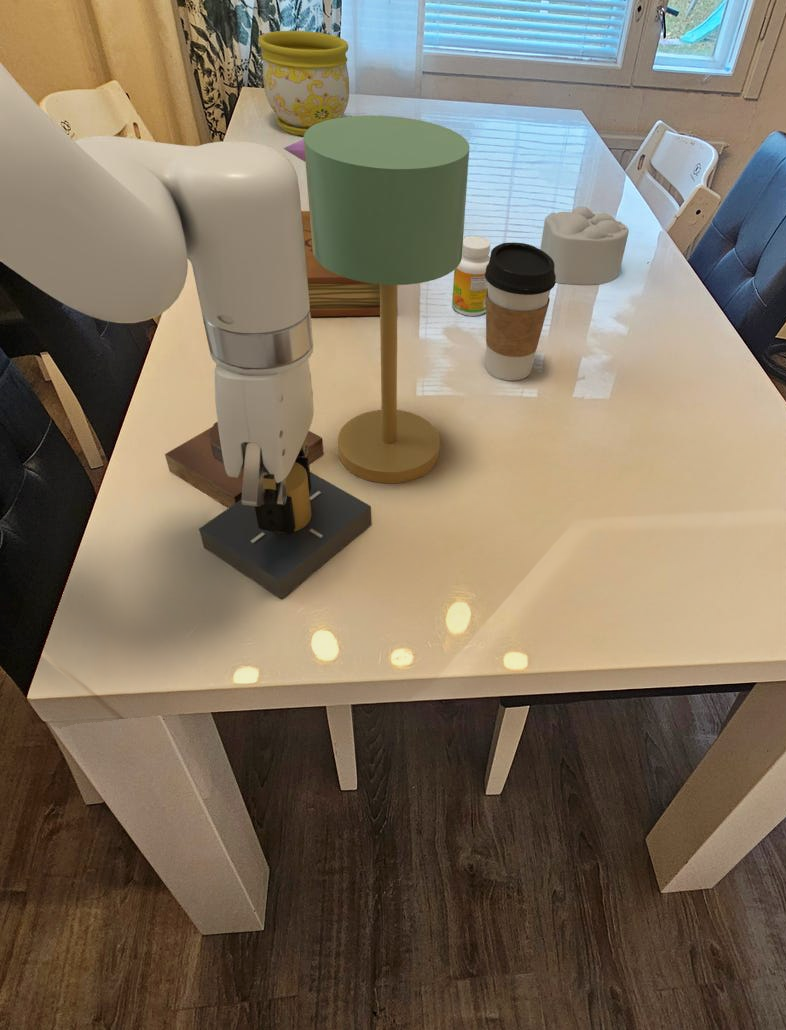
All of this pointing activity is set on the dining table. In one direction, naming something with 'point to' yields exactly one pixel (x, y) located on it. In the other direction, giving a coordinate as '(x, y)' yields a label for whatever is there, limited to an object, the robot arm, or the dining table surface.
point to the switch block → (217, 465)
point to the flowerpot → (304, 77)
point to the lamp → (387, 253)
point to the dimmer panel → (287, 538)
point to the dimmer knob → (296, 494)
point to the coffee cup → (516, 307)
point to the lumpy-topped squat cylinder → (584, 246)
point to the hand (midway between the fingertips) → (285, 507)
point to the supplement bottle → (471, 277)
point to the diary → (335, 286)
